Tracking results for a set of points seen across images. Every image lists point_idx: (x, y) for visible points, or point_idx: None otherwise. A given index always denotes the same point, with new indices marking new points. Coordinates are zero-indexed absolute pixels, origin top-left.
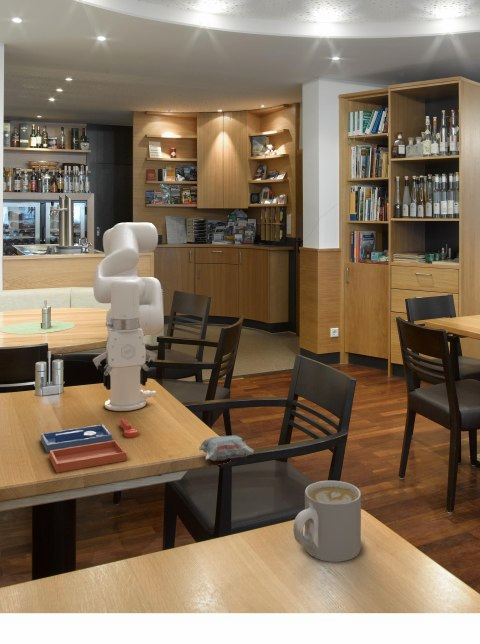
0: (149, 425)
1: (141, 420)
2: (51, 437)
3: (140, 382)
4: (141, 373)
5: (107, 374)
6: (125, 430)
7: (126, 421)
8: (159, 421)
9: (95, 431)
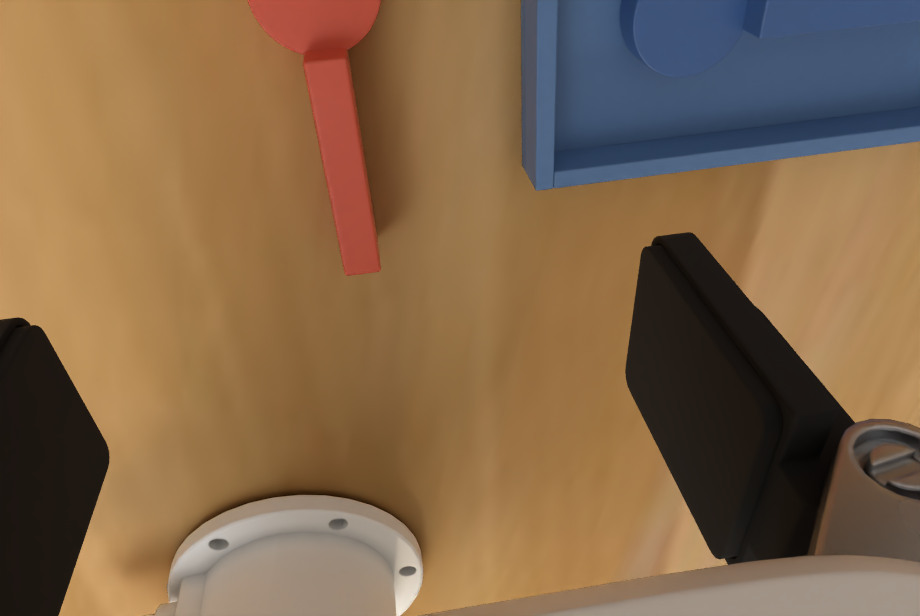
0: (132, 191)
1: (204, 320)
2: (907, 110)
3: (99, 454)
4: (2, 574)
5: (853, 439)
6: (363, 19)
7: (337, 185)
8: (44, 261)
9: (589, 147)
